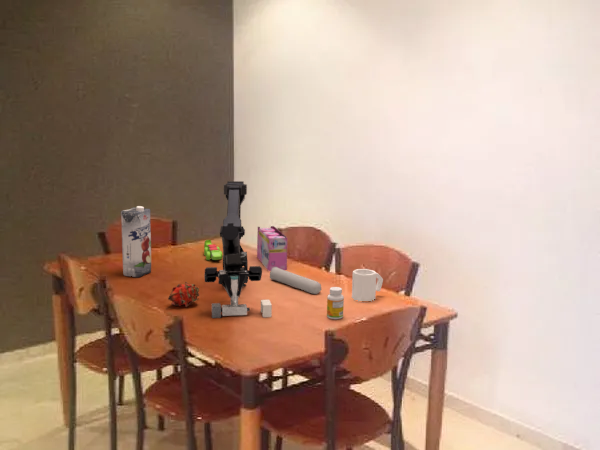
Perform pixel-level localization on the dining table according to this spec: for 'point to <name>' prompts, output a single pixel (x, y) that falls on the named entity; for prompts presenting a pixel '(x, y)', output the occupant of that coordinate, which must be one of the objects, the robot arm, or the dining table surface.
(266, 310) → the socket block
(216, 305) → the rod stand
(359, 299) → the mug
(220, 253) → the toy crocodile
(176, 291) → the dragon fruit
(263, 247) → the gum box
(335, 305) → the supplement bottle
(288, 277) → the tube
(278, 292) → the dining table surface
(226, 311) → the tube
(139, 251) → the juice carton
